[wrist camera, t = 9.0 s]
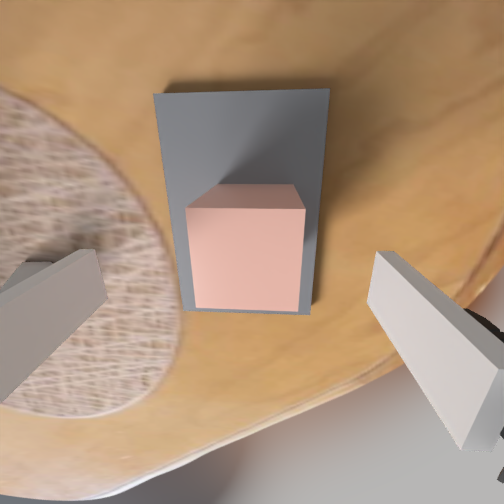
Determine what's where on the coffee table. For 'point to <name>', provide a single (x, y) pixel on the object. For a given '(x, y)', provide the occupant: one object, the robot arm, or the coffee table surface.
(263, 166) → the post board
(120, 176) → the coffee table surface
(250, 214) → the pink upright block
